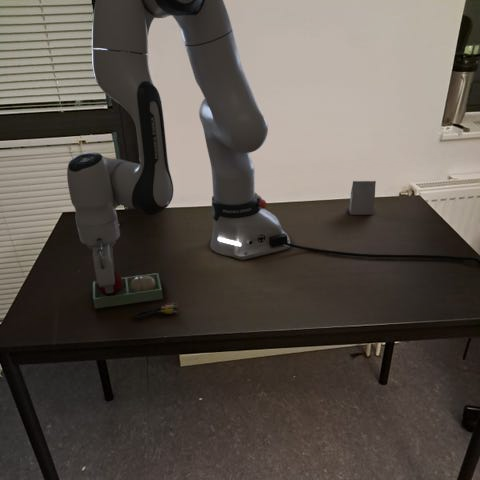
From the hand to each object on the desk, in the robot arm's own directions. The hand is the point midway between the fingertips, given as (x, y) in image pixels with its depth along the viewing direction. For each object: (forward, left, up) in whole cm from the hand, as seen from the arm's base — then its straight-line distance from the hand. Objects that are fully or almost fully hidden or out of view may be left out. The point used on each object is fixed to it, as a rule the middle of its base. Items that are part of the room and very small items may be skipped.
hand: (109, 283), depth 121 cm
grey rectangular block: (-78, -30, -4) cm, 84 cm away
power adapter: (+2, -40, -4) cm, 40 cm away
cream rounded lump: (-8, 0, -4) cm, 9 cm away
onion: (0, 0, -4) cm, 4 cm away
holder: (-4, 0, -4) cm, 6 cm away
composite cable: (-10, +10, -4) cm, 14 cm away
